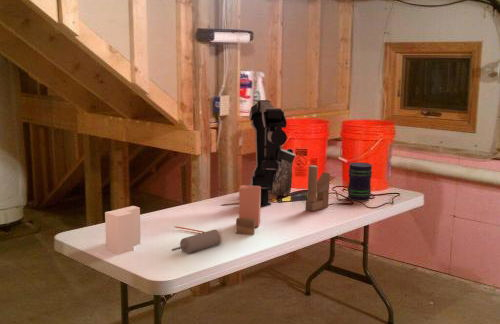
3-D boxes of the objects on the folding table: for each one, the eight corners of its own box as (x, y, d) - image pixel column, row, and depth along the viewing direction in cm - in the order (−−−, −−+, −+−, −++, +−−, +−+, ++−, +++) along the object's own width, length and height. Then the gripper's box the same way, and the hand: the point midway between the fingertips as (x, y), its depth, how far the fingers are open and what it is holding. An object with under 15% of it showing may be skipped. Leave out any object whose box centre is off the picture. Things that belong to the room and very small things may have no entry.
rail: (245, 217, 204) (245, 205, 203) (260, 218, 203) (261, 205, 202) (236, 233, 185) (236, 219, 184) (253, 234, 184) (253, 220, 183)
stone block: (263, 192, 245) (264, 148, 242) (274, 190, 250) (275, 147, 246) (283, 197, 235) (284, 152, 232) (294, 195, 240) (296, 151, 236)
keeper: (241, 221, 198) (241, 185, 196) (260, 222, 197) (260, 186, 195) (238, 225, 193) (239, 188, 191) (258, 226, 192) (259, 189, 190)
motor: (231, 242, 176) (230, 227, 176) (178, 259, 160) (176, 242, 160) (186, 237, 192) (184, 223, 192) (133, 252, 176) (131, 237, 176)
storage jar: (347, 200, 233) (349, 166, 231) (347, 194, 243) (348, 162, 240) (371, 201, 232) (373, 167, 229) (369, 195, 241) (371, 162, 239)
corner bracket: (119, 254, 163) (118, 216, 161) (97, 246, 170) (96, 209, 168) (147, 246, 171) (146, 209, 169) (125, 238, 178) (124, 203, 176)
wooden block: (328, 207, 221) (330, 164, 218) (312, 212, 214) (313, 167, 210) (321, 205, 224) (323, 162, 220) (305, 210, 216) (306, 166, 213)
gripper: (293, 146, 188) (292, 190, 191) (295, 140, 207) (294, 180, 209) (261, 145, 190) (260, 188, 192) (266, 139, 208) (266, 179, 211)
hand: (271, 184), depth 201 cm, fingers open, 9 cm apart
